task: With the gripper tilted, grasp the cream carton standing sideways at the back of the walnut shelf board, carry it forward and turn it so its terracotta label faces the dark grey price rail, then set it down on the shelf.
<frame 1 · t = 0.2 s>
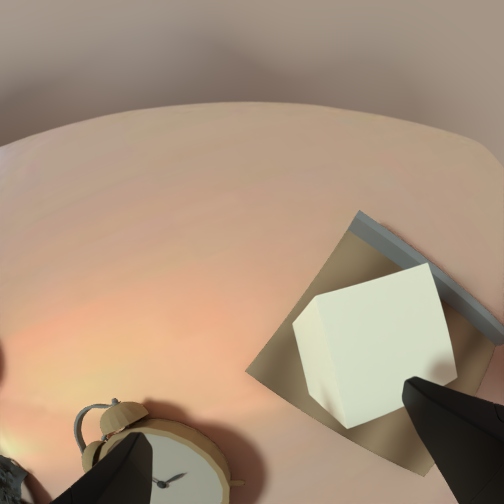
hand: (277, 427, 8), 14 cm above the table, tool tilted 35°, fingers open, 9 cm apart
price rail: (440, 287, 21), on the table
shelf board: (394, 364, 21), on the table
carton: (336, 349, 21), point 1 cm above the table, touching shelf board
alarm clock: (156, 460, 19), on the table
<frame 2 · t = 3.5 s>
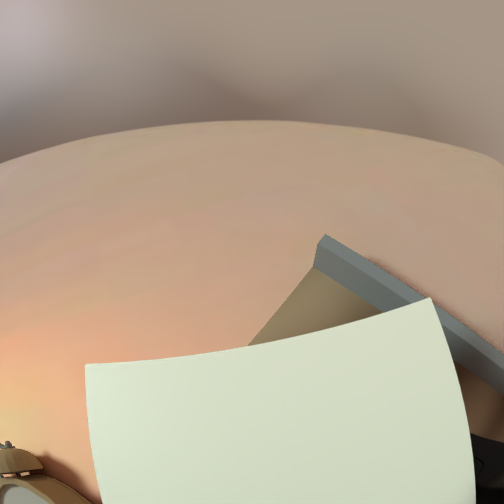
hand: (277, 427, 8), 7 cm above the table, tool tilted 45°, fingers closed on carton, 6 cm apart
price rail: (456, 346, 12), on the table
shelf board: (378, 464, 11), on the table
carton: (281, 444, 12), point 1 cm above the table, touching gripper, shelf board
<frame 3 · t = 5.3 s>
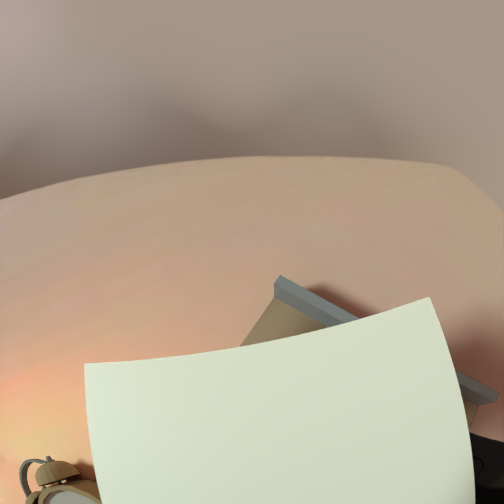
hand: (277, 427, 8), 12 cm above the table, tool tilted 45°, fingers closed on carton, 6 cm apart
price rail: (395, 353, 18), on the table
shelf board: (337, 445, 16), on the table
carton: (281, 444, 12), point 7 cm above the table, touching gripper
when the fingers open (8 cm above the table, at t = 8.4 s): carton drops 1 cm, resting on shelf board.
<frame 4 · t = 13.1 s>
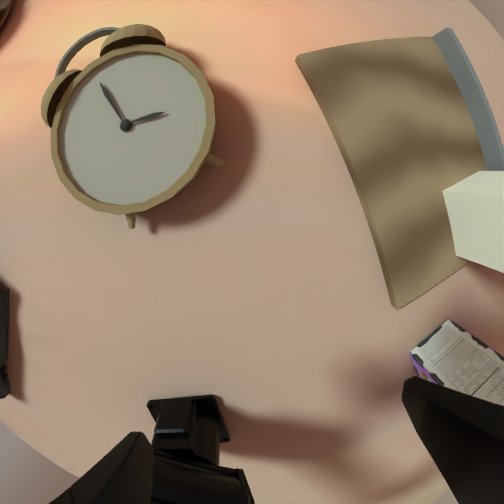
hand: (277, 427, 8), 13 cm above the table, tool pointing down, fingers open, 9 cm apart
price rail: (485, 134, 17), on the table
candy box: (438, 371, 24), on the table
shelf board: (424, 156, 19), on the table
carton: (469, 211, 19), point 1 cm above the table, touching shelf board
alarm clock: (130, 115, 17), on the table
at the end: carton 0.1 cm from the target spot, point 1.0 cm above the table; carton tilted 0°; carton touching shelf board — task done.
